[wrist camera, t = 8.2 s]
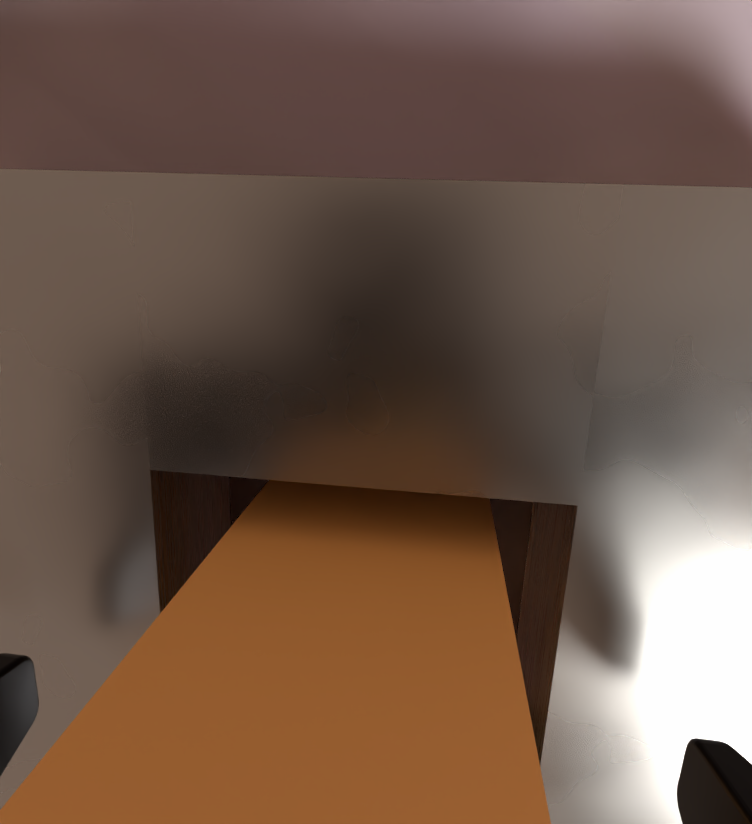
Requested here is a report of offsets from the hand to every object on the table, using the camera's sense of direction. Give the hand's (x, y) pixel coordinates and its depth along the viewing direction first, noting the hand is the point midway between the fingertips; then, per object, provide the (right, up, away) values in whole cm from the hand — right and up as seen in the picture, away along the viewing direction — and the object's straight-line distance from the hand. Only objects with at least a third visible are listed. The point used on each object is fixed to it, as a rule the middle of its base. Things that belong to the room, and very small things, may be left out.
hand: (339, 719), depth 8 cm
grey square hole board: (0, +1, +4) cm, 4 cm away
